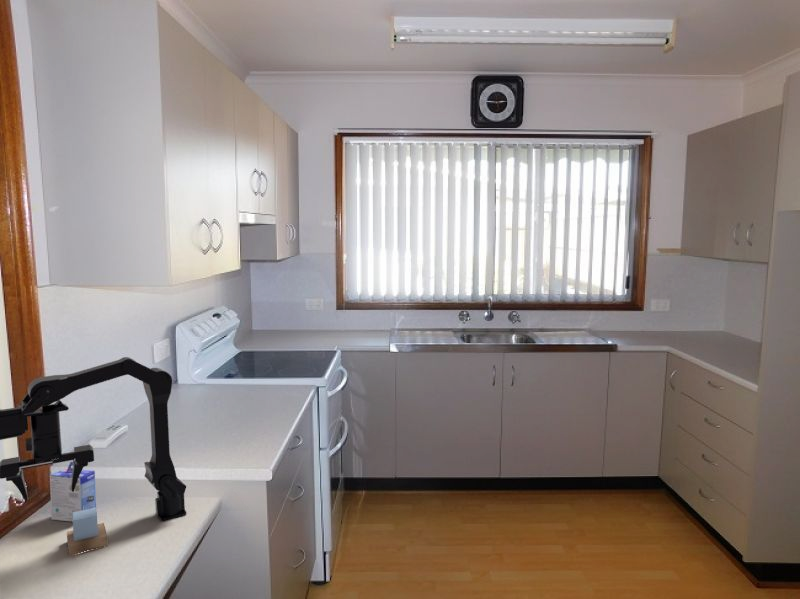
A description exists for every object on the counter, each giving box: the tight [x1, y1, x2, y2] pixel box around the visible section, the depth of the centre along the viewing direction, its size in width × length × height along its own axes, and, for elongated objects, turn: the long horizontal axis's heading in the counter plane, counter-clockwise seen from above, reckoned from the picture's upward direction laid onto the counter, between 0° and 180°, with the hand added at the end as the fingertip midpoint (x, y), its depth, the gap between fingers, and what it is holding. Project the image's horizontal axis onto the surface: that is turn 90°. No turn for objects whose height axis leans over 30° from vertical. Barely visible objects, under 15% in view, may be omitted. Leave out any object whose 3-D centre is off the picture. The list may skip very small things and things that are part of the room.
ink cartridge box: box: [49, 461, 97, 522], centre depth 146 cm, size 10×6×14 cm, turn 78°
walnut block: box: [66, 522, 109, 557], centre depth 132 cm, size 8×8×3 cm
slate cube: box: [72, 506, 98, 541], centre depth 132 cm, size 5×5×5 cm
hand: (50, 495), depth 130 cm, fingers open, 9 cm apart
